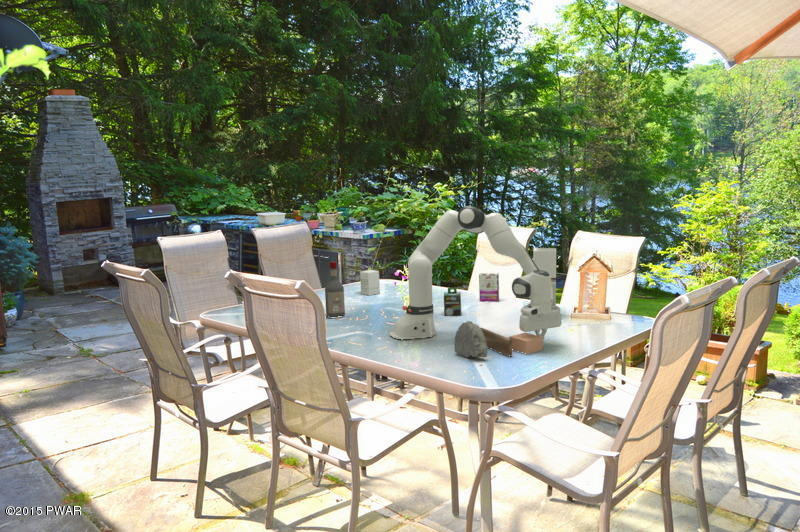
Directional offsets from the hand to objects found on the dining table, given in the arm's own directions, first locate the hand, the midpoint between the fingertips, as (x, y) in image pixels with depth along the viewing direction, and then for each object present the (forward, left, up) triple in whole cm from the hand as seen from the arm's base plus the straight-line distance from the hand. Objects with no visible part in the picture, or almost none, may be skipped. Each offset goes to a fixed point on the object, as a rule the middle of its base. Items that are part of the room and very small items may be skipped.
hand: (540, 339), depth 273 cm
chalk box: (-2, +75, -4) cm, 75 cm away
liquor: (-59, +104, -4) cm, 119 cm away
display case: (+37, +46, -4) cm, 59 cm away
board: (-20, +7, -4) cm, 21 cm away
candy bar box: (+33, +93, -4) cm, 99 cm away
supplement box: (-19, +152, -4) cm, 153 cm away
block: (-8, -1, -4) cm, 9 cm away
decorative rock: (-34, +3, -4) cm, 34 cm away
